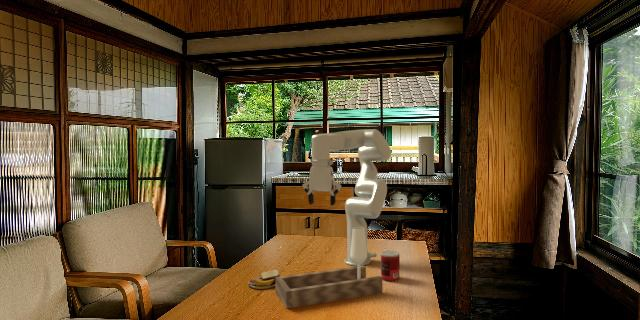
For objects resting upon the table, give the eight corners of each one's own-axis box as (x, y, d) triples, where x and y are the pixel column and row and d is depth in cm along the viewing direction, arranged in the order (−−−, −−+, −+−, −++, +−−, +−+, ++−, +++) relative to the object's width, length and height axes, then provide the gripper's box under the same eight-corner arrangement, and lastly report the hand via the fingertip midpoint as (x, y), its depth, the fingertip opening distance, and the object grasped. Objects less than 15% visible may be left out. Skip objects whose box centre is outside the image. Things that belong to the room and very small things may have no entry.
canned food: (400, 276, 169) (400, 251, 169) (398, 282, 162) (398, 256, 161) (383, 274, 172) (382, 249, 171) (379, 280, 164) (379, 254, 164)
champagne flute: (356, 292, 152) (356, 230, 151) (347, 287, 158) (346, 227, 157) (371, 289, 155) (370, 228, 154) (361, 284, 161) (361, 225, 160)
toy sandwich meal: (249, 280, 168) (248, 269, 168) (280, 278, 169) (280, 267, 169) (246, 291, 155) (246, 279, 155) (281, 289, 157) (280, 277, 157)
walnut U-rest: (363, 279, 166) (363, 265, 165) (382, 293, 151) (382, 277, 150) (275, 292, 153) (275, 277, 152) (286, 308, 138) (286, 291, 137)
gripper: (343, 163, 165) (344, 203, 166) (306, 163, 171) (307, 202, 172) (337, 164, 158) (338, 206, 159) (298, 164, 164) (299, 205, 165)
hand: (321, 204), depth 166 cm, fingers open, 9 cm apart
